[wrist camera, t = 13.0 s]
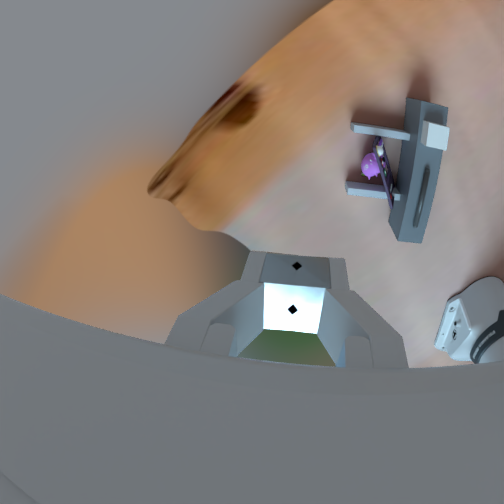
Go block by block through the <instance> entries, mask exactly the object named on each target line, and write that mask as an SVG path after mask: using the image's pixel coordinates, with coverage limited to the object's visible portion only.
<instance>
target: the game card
mask: <svg viewBox="0 0 504 504" xmlns="http://www.w3.org/2000/svg"><path fill="white" fill-rule="evenodd" d="M378 140H379V144H378V145H377V143H378ZM372 147H373V151H374V153H369V154H367V155H366V156H365V157H364V158H363V160H362V163H361V169H362V172H363V173H362V174H361V175H362V176H365V175H366V176H368V178H369V180H370V177H371V176H374V175H376V177H377V174H378V173H381V177H382V180H383V184H384V187H385V191H386V194H387V198H388V202H389V206H390V209H393V205H394V198H395V197H394V196H393V195H392V192H393V189H394V188H395V183H394V179H393V176H392V172H391V169H390V165H389V162H388V158H387V155H386V152H385V148H384V144H383V141H382V138H381V136H378V135H376V137H375V140H374V143H373V146H372ZM383 155H384V157H383ZM385 161H386V162H385ZM385 165H387V168H388V172H387V178H386V171H385ZM385 178H386V179H385Z"/></svg>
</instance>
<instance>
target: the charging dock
mask: <svg viewBox="0 0 504 504" xmlns="http://www.w3.org/2000/svg"><path fill="white" fill-rule="evenodd" d="M447 114H448V107H444V106H440V105H437V104H433V103H429V102H425V101H421V100H416V99H411V98H406V110H405V121H404V130H400V129H394V128H388V127H382V126H376V125H369V124H362V123H354V122H351V130H352V131H353V132H356V133H364V134H371V135H378V136H384V137H390V138H396V139H402V147H401V155H400V162H399V168H398V175H397V181H396V186H395V188H394V189H393V192H392V195H393V196H394V197H395V198H394V205H393V209H391V213H390V217H389V224H390V226H391V228H392V230H393V232H394V234H395V236H396V238H397V241H403V242H413V243H422V240H423V236H424V233H425V229H426V226H427V222H428V218H429V214H430V210H431V206H432V202H433V198H434V193H435V189H436V184H437V179H438V174H439V169H440V164H441V158H442V152H443V150H447V143H448V136H449V129H450V128H449V127H447V126H446V123H447ZM345 189H346V192H347V195H356V196H365V197H374V198H382V199H388V198H387V194H386V191H385V187H384V185H376V184H368V183H359V182H350V181H346V183H345Z"/></svg>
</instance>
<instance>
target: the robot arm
mask: <svg viewBox="0 0 504 504" xmlns="http://www.w3.org/2000/svg"><path fill="white" fill-rule="evenodd" d="M263 328H266V329H278V330H290V329H291V331H300V332H309V333H317V335H318V337H319V339H320V340H321V342H322V343H323V345H324V346H325V348H326V349H327V351H328V353H329V354H330V356H331V358H332V359H333V361H334V362H335V364H336V366H335V367H330V366H329V367H328V366H313V365H301V364H290V363H280V362H270V361H262V360H254V359H246V358H239V357H238V354H239V353H240V352H241V351H242V350H243V349H244V348H245V347H246V346H247V345H248V344H249V343H250V342H251V341H252V340H253V339H255V338H256V336H258V335H259V333H260V332H262V330H263ZM434 345H435V347H436V348H437V349H439V350H442V351H447V353H448V355H449V356H450V357H451V358H452V359H454V360H458V361H473V362H474V363H475V364H469V365H458V366H444V367H427V368H409V367H408V362H407V357H406V352H405V348H404V343H403V339H402V336H401V335H400V334H399V333H398V332H397V331H395V330H394V329H393V328H392V327H391V326H390V325H389V324H388V323H387V322H386V321H385V320H384V319H383V318H382V317H381V316H380V315H379V314H378V313H377V312H376V311H375V310H374V309H373V308H372V307H371V306H370V305H369V304H368V303H366V302H365V301H364V300H363V299H362V298H361V297H360V296H359V295H358V294H357V293H356V292H355V291H351V290H349V283H348V276H347V269H346V263H345V259H344V258H330V257H329V258H327V257H311V256H298V255H291V254H282V253H272V252H263V251H251V252H250V253H249V256H248V259H247V262H246V265H245V268H244V271H243V275H242V277H241V280H240V281H238V280H236V281H234V282H232V283H231V284H229V285H228V286H226V287H224V288H223V289H221V290H220V291H218V292H216V293H215V294H213V295H211V296H210V297H208V298H207V299H205V300H204V301H202V302H200V303H198V304H197V305H195V306H194V307H192V308H190V309H189V310H187V311H185V312H184V313H182V314H180V315H179V316H178V318H177V320H176V322H175V324H174V326H173V328H172V330H171V332H170V334H169V336H168V338H167V340H166V342H165V344H160V343H156V342H152V341H147V340H142V339H139V338H135V337H131V336H126V335H123V334H118V333H114V332H111V331H107V330H104V329H100V328H97V327H93V326H90V325H86V324H83V323H80V322H77V321H73V320H70V319H67V318H64V317H61V316H58V315H55V314H52V313H49V312H46V311H43V310H40V309H38V308H35V307H32V306H30V305H27V304H24V303H21V302H19V301H16V300H14V299H11V298H9V297H6V296H4V295H2V294H0V504H504V283H503V282H502V281H501V280H500V279H499V278H497V277H486V278H483V279H480V280H478V281H476V282H475V283H473V284H472V285H470V286H469V287H468V288H467V289H465V290H464V291H463V292H462V293H460V294H459V295H456V296H454V297H452V298H451V299H449V300H448V302H447V305H446V308H445V312H444V315H443V318H442V322H441V325H440V328H439V331H438V334H437V337H436V340H435V343H434Z"/></svg>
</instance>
